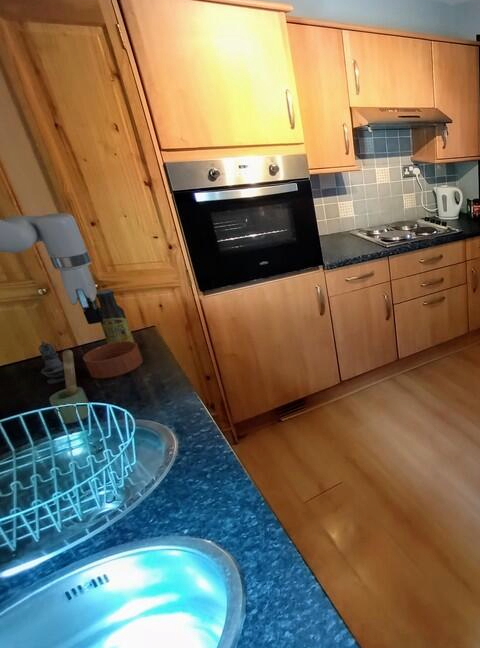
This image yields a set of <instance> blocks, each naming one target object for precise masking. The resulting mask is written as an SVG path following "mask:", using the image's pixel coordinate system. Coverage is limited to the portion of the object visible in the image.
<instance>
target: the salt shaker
mask: <svg viewBox="0 0 480 648" xmlns="http://www.w3.org/2000/svg"><path fill="white" fill-rule="evenodd" d="M38 351H39V353H40V355H41V357H40V359H41V360H43V362H44V364H45V365H44V366H45V367H44V368H42V369H41V370H40V373H41V374H43V375H44V376H45V377H47V378H49V379H47V383H48V384H50V385H51V384H59V383H62V382H66V381H65V373H64V365H63V361H61V359H60V358H59V353H58V352H56V350H55V348H54V345H53V344H52V343H48V342H47V343H46V342H45V341H42V342H41V344H40V345H39V346H38Z"/></svg>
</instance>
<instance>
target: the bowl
mask: <svg viewBox="0 0 480 648" xmlns="http://www.w3.org/2000/svg"><path fill="white" fill-rule="evenodd" d="M82 361H83V363H84V365H85V368H86V370H87V372H88V374H89V376H90V377H91V378H95V379H107V378H108V379H109V378H114V377H118V376H122V375H124V374H127V373H130V372H131V371H134V370H135V369H137V368H138V367H141V365H142V363H144V357H143V356H142V353H141V350H140V348H139V345H138V343H137V342H135V341H134V342H132V341H121V342H114V343H110V344H108V343H106V344H103V345H100V346H97V347H95V348H93V349H91V350H89V351H88V352H86V353H85V354H84V355H83V356H82Z"/></svg>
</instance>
